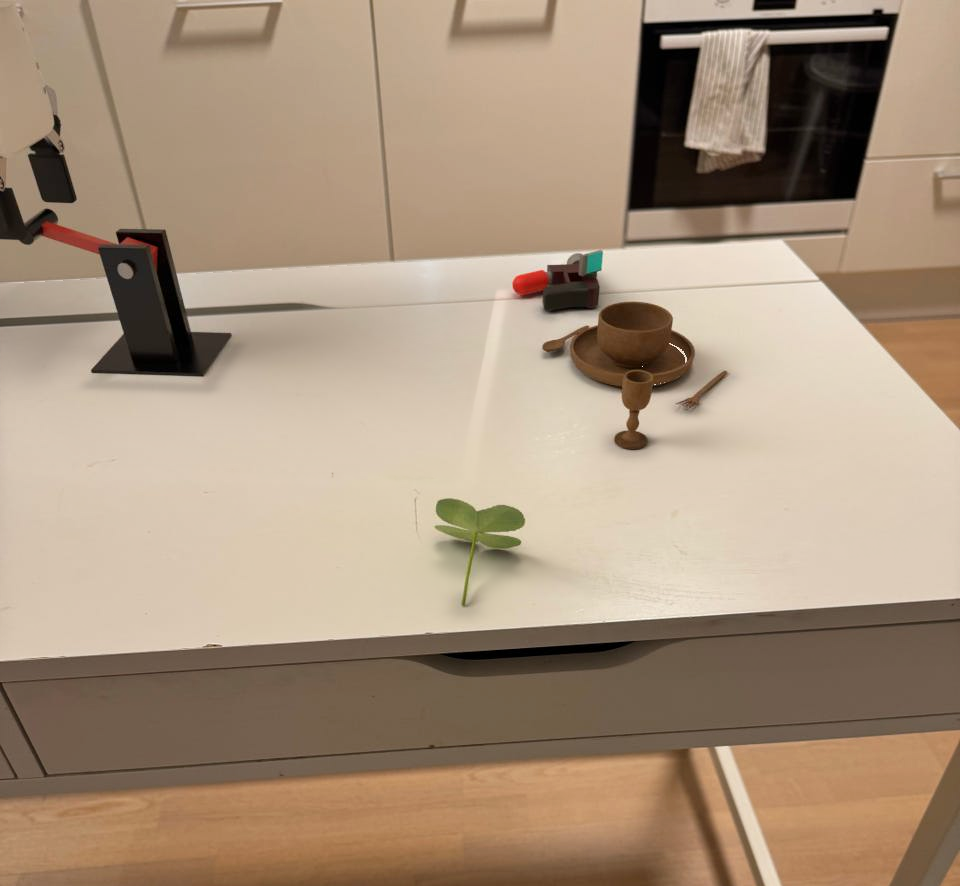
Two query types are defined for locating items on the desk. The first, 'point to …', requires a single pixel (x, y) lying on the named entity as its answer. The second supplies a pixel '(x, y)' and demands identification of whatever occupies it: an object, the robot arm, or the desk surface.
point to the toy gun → (565, 282)
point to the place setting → (632, 357)
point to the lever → (69, 234)
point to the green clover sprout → (479, 526)
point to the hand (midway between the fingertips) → (36, 219)
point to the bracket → (152, 312)
